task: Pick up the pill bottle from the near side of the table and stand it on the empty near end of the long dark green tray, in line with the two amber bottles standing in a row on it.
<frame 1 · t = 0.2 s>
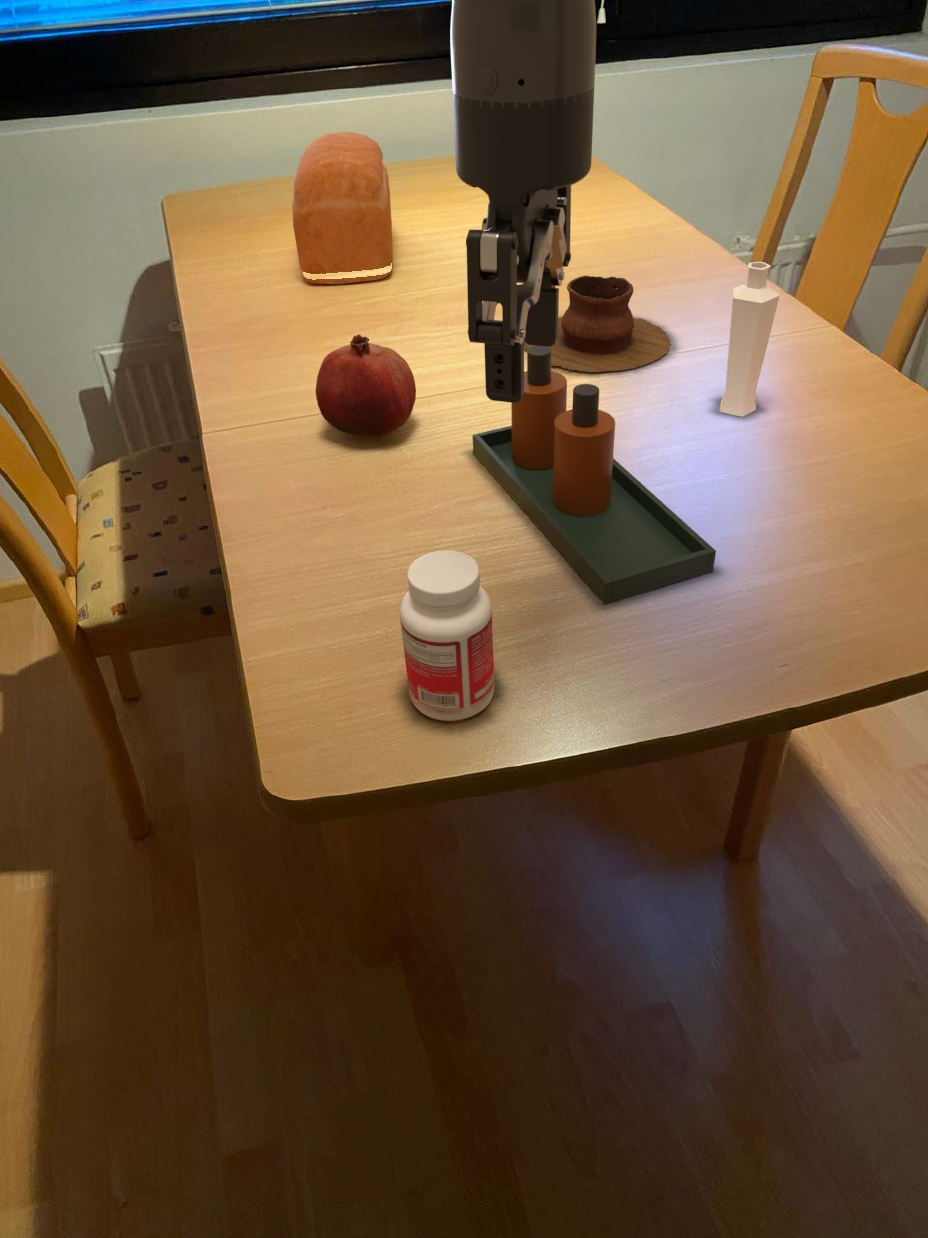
hand: (523, 369, 59), 21 cm above the table, tool pointing down, fingers open, 8 cm apart
bread: (349, 256, 143), on the table
pill bottle: (452, 695, 67), on the table
amber bottle far: (538, 456, 92), point 1 cm above the table, touching tray
amber bottle middle: (581, 500, 85), point 1 cm above the table, touching tray
tray: (581, 506, 85), on the table
ceramic pot: (596, 344, 114), on the table
white faceted vase: (736, 408, 99), on the table
fruit: (370, 432, 99), on the table
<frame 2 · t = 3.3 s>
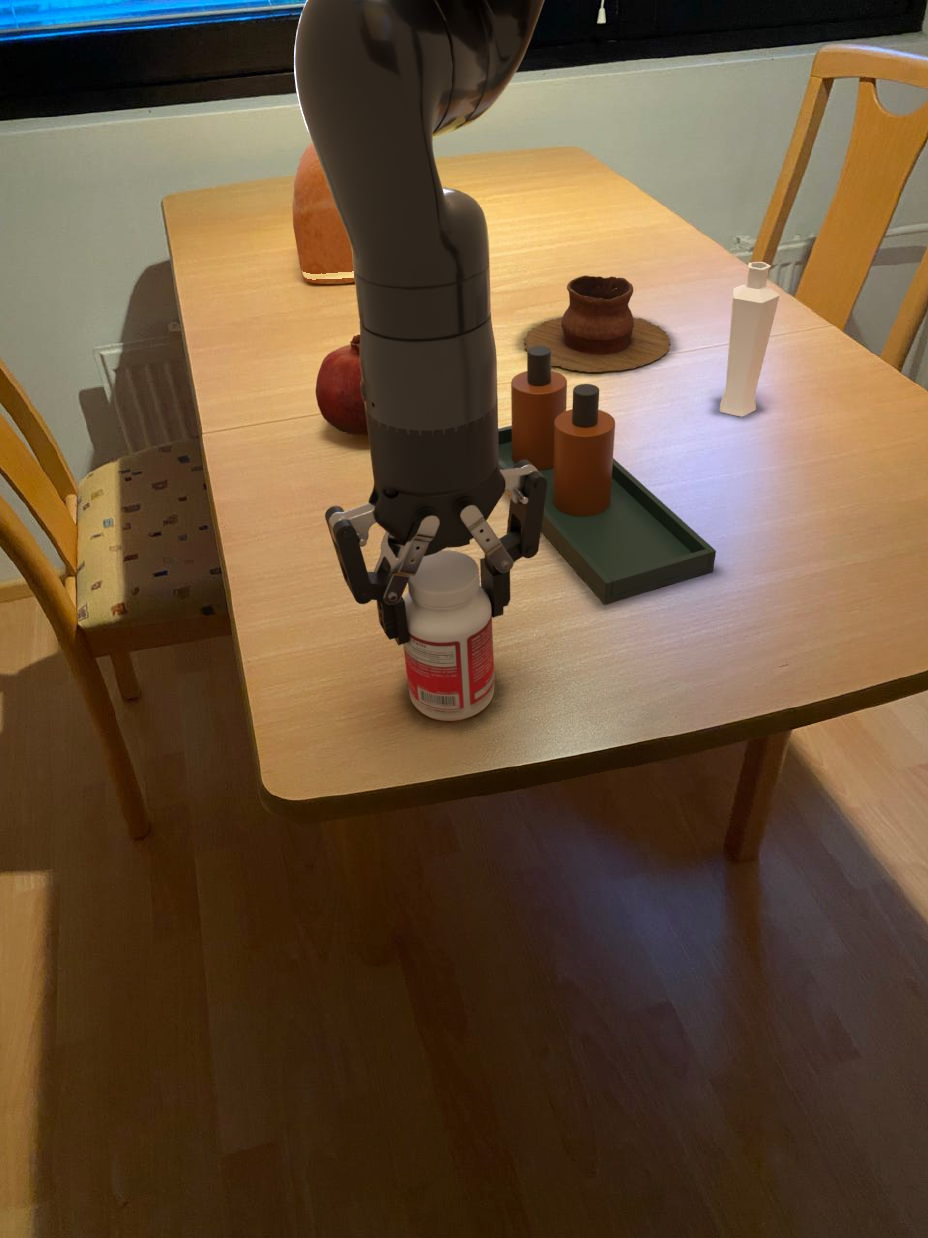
hand: (446, 622, 63), 7 cm above the table, tool pointing down, fingers closed on pill bottle, 6 cm apart
pill bottle: (452, 695, 67), on the table, touching gripper
everything else where it was.
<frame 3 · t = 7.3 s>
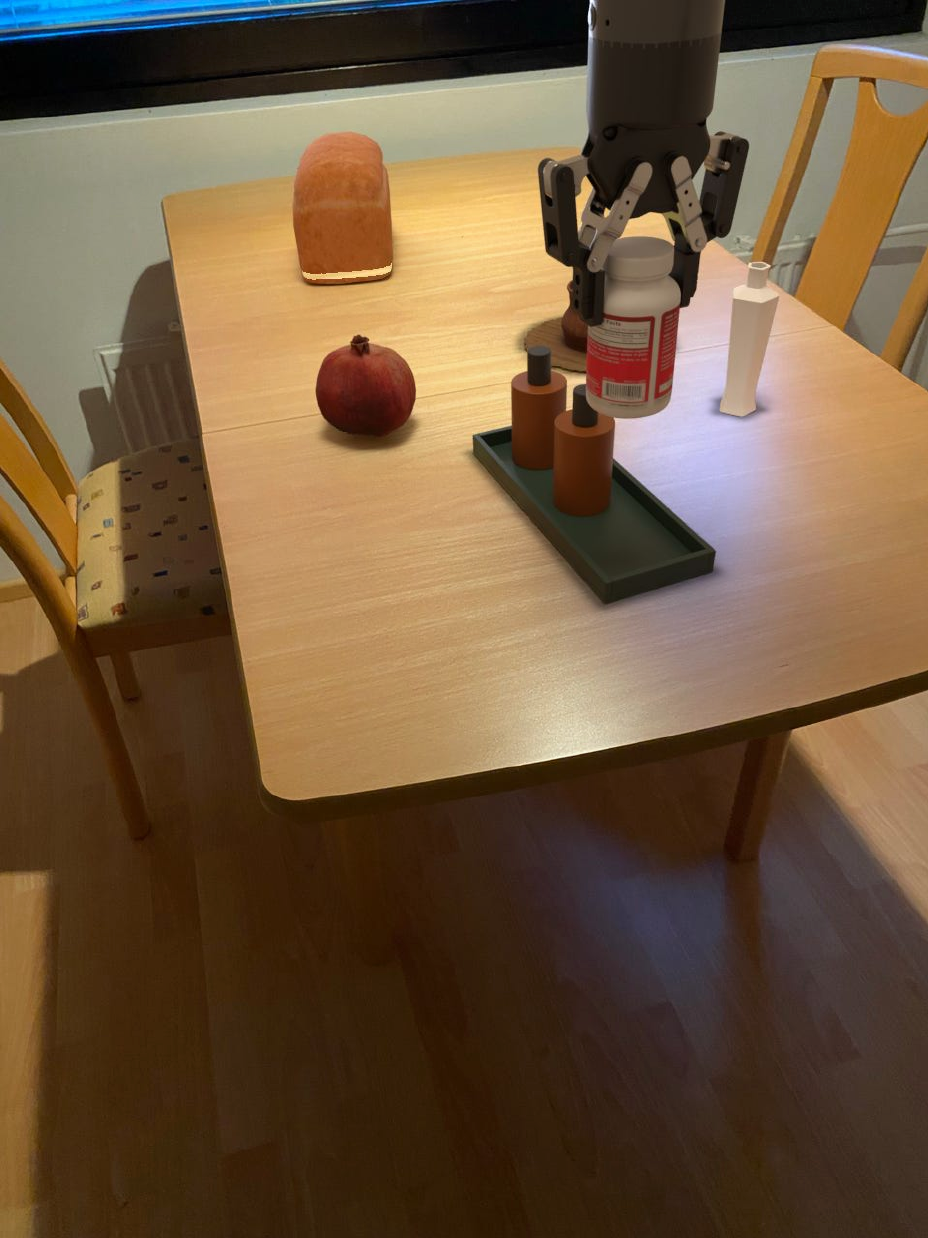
hand: (634, 312, 64), 22 cm above the table, tool pointing down, fingers closed on pill bottle, 6 cm apart
pill bottle: (627, 404, 68), point 15 cm above the table, touching gripper
everything else where it was.
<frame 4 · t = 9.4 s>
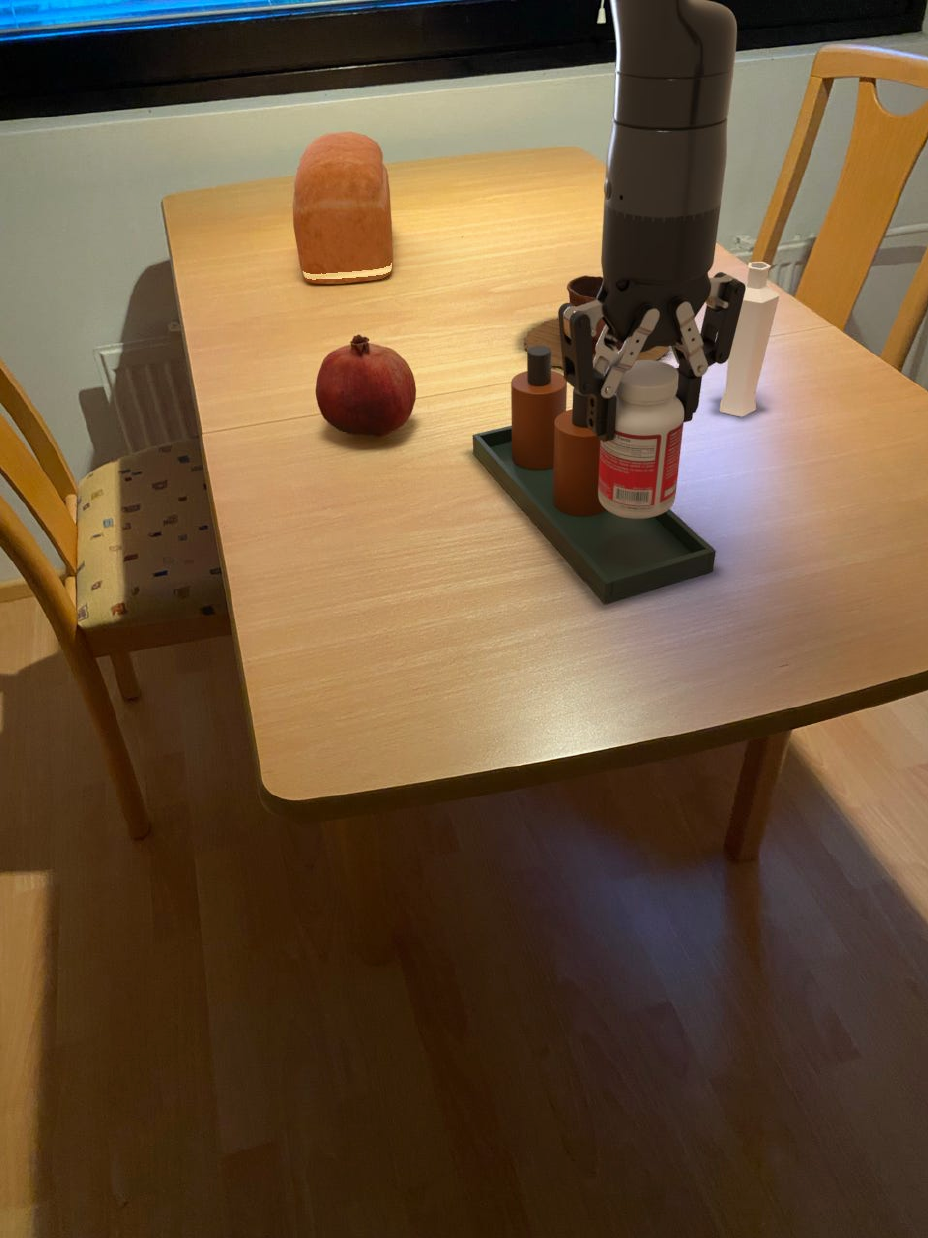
hand: (642, 426, 71), 12 cm above the table, tool pointing down, fingers closed on pill bottle, 6 cm apart
pill bottle: (635, 503, 75), point 6 cm above the table, touching gripper
everything else where it was.
when the fingers open (7 cm above the table, at t = 11.2 s): pill bottle stays where it is, resting on tray.
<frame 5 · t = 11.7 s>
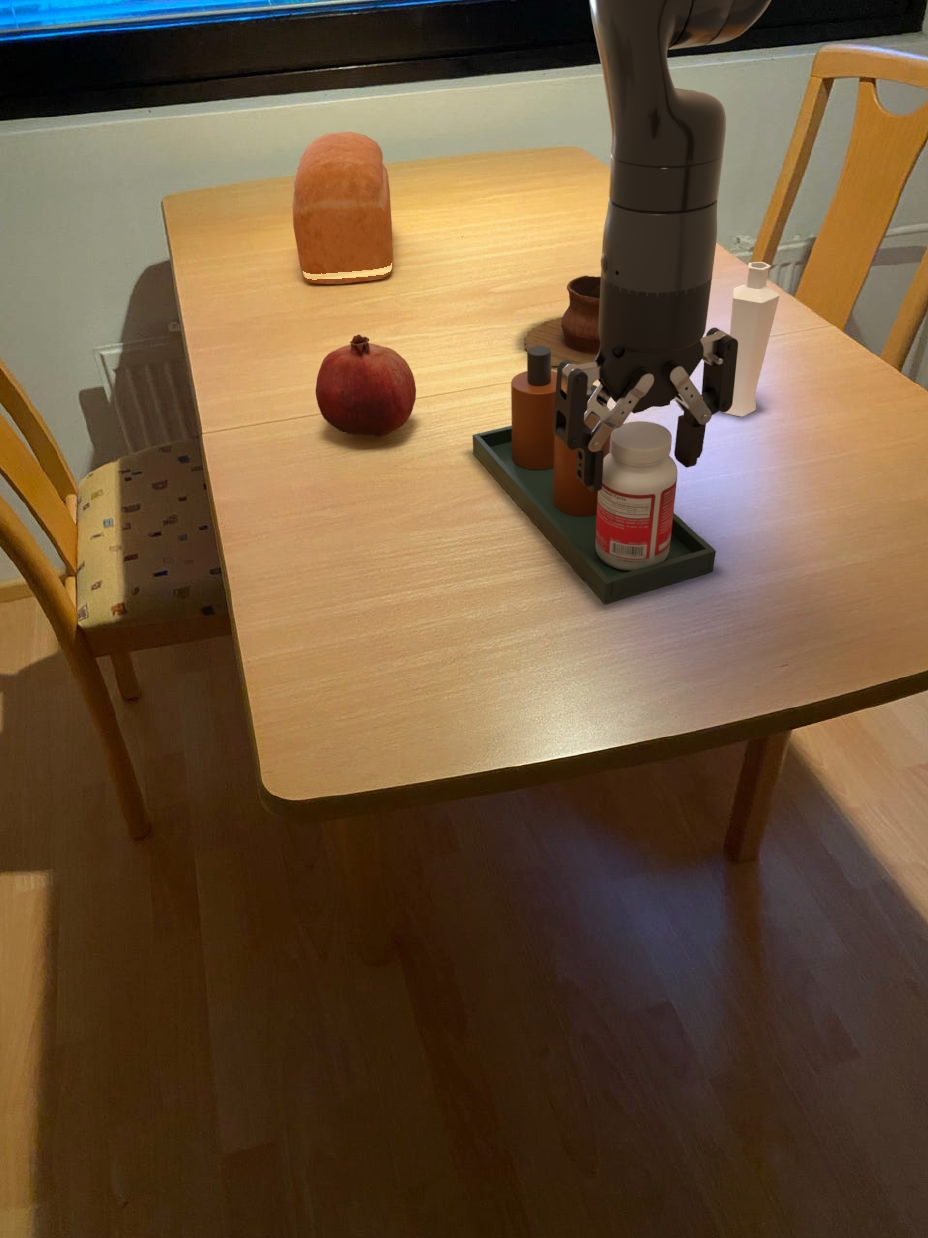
hand: (638, 474, 74), 8 cm above the table, tool pointing down, fingers open, 8 cm apart
pill bottle: (631, 554, 79), resting on tray
everything else where it was.
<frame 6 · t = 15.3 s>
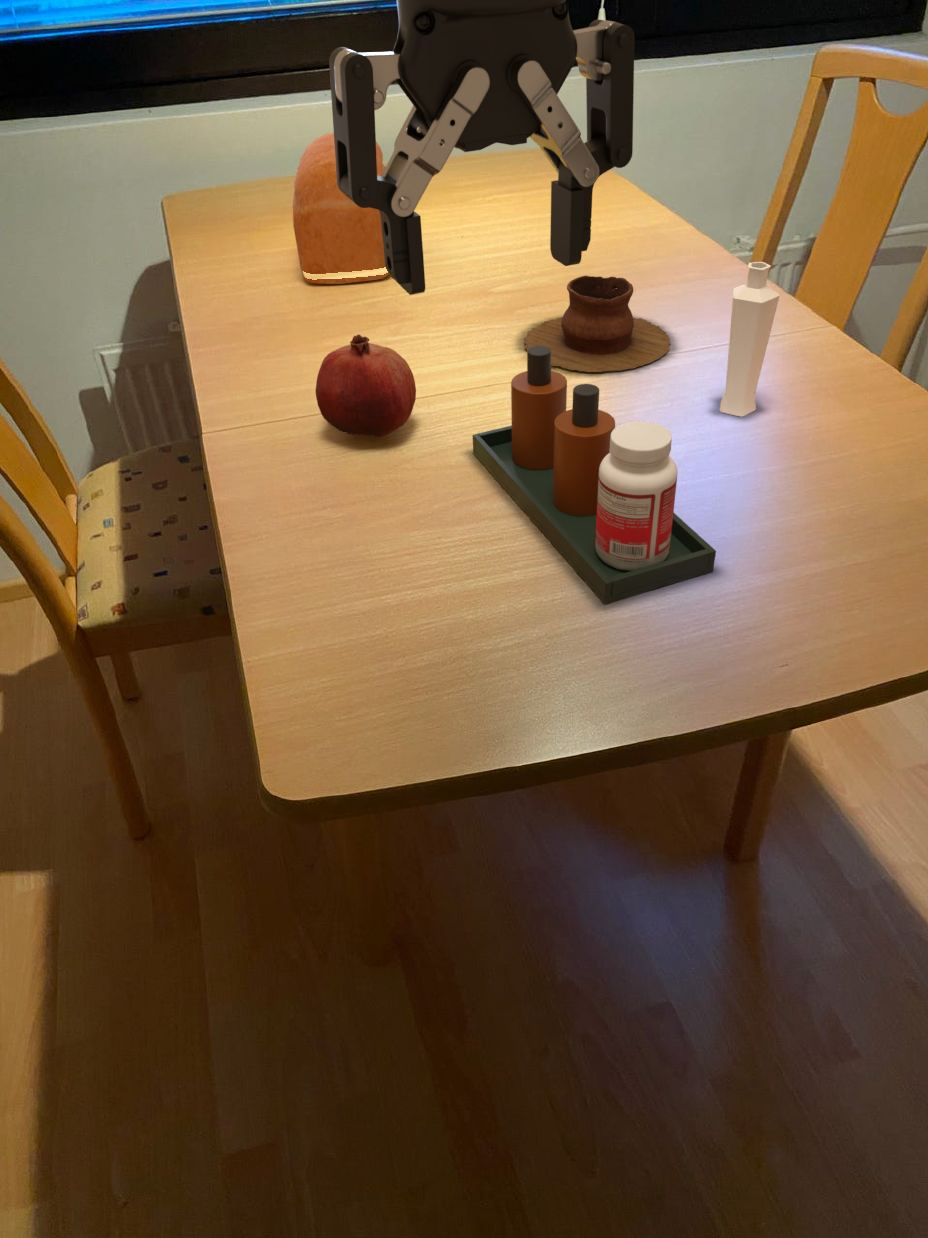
hand: (490, 274, 47), 30 cm above the table, tool pointing down, fingers open, 8 cm apart
nothing on the table moved.
at the end: pill bottle 0.0 cm from the target spot in the tray, point 0.4 cm above the tray's base; pill bottle tilted 0°; amber bottle middle moved 0.0 cm from its start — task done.
